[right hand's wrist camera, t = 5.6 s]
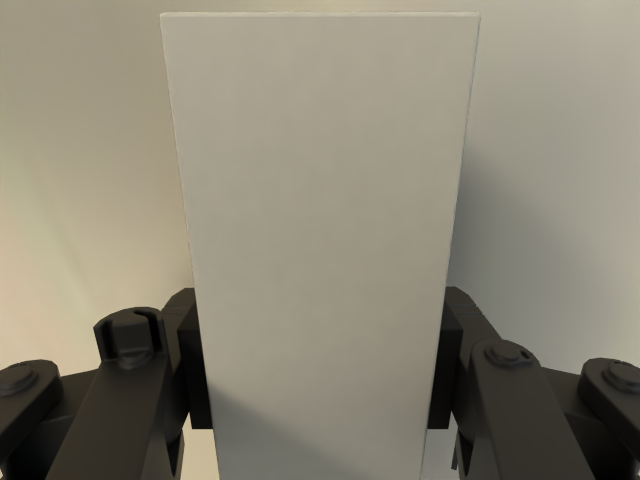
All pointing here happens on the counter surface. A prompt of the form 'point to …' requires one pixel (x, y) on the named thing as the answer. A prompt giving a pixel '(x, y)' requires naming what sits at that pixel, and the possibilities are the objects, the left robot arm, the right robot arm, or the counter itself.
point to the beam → (320, 227)
